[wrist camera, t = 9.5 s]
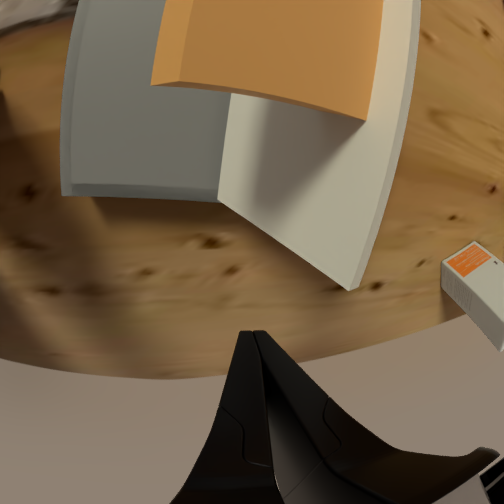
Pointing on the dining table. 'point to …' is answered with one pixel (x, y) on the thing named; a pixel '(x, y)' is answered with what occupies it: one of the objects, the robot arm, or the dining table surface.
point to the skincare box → (477, 288)
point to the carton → (134, 113)
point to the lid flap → (302, 112)
